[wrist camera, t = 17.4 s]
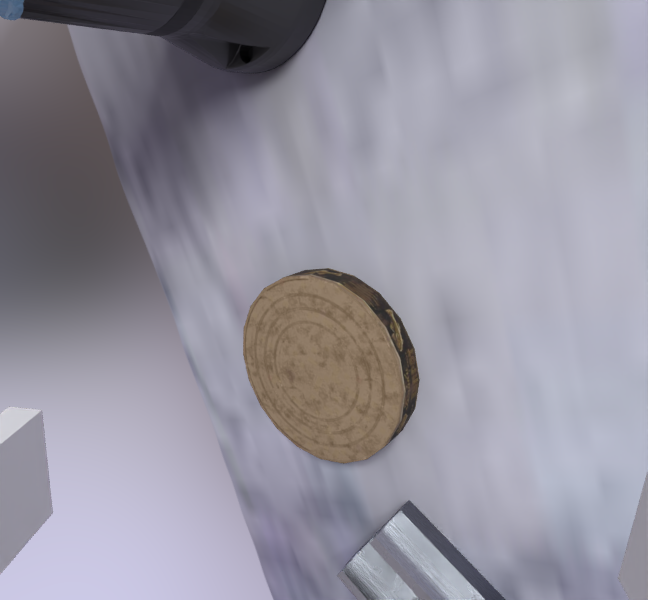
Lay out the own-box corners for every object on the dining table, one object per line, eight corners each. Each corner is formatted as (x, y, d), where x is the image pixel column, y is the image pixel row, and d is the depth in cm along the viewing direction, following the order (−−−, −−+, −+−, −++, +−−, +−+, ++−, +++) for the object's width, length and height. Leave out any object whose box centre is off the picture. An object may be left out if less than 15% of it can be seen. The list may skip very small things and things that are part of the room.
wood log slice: (385, 246, 40) (363, 253, 37) (446, 445, 41) (428, 464, 39) (244, 288, 50) (220, 296, 48) (297, 446, 51) (276, 462, 49)
